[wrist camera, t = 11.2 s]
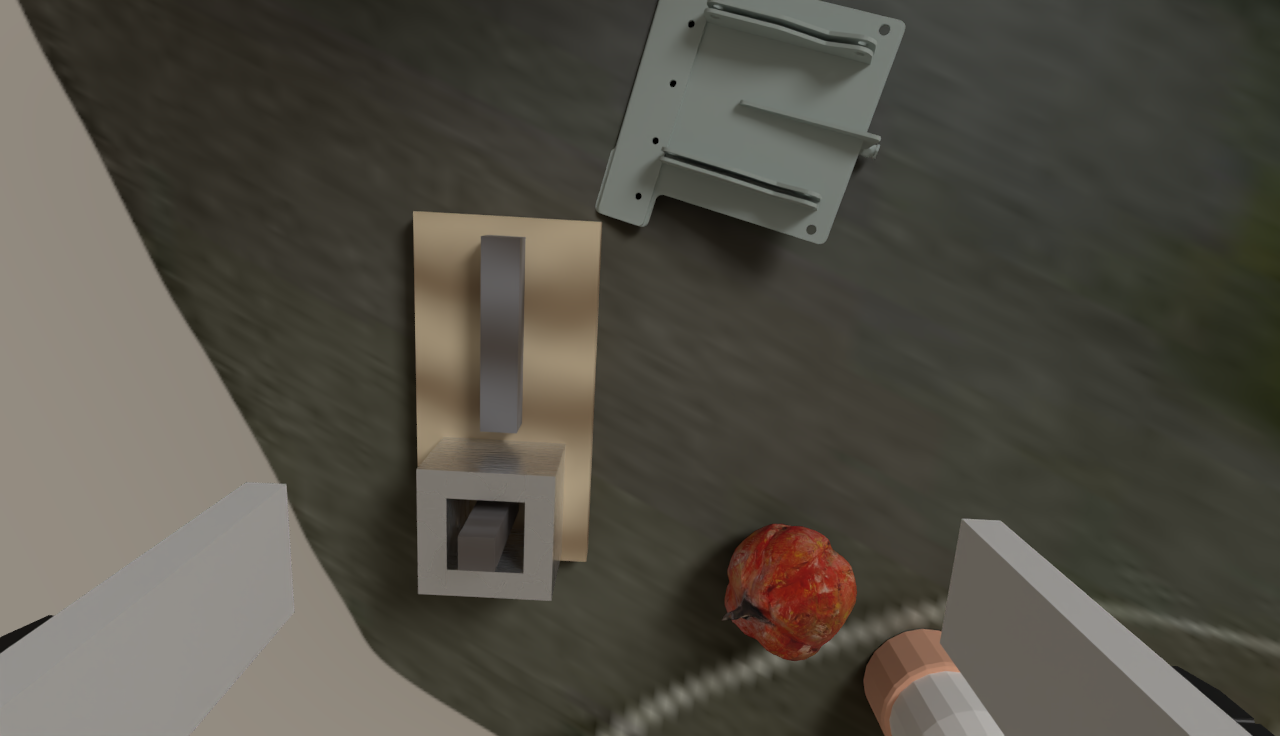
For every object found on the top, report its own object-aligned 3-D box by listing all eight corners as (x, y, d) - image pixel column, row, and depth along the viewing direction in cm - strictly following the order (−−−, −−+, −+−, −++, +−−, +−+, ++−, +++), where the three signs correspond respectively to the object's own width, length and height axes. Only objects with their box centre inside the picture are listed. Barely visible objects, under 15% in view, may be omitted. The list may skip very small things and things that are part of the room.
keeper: (421, 211, 38) (361, 211, 29) (602, 221, 38) (592, 225, 30) (426, 541, 42) (375, 622, 34) (587, 549, 42) (575, 632, 34)
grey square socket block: (443, 436, 39) (416, 468, 34) (565, 443, 39) (555, 476, 34) (444, 548, 41) (418, 593, 36) (561, 554, 41) (551, 600, 36)
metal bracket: (948, -34, 30) (826, 288, 33) (929, 13, 36) (826, 286, 39) (650, -101, 33) (565, 202, 36) (676, -47, 39) (600, 211, 42)
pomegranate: (818, 488, 44) (707, 508, 38) (915, 558, 39) (806, 594, 33) (780, 581, 46) (671, 614, 40) (867, 658, 41) (757, 710, 35)
